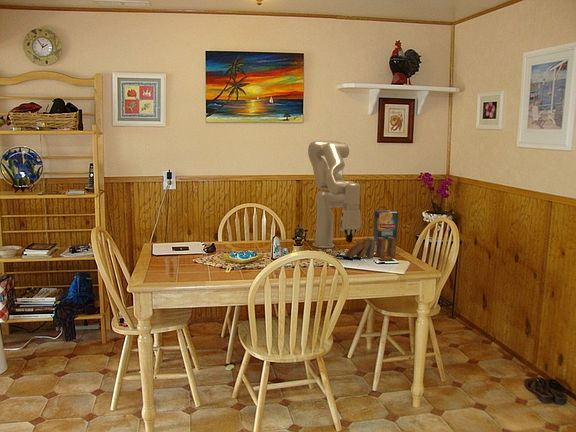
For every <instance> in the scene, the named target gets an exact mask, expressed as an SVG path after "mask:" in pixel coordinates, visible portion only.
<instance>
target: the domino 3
mask: <svg viewBox="0 0 576 432" xmlns="http://www.w3.org/2000/svg"><path fill="white" fill-rule="evenodd" d="M366 239H367V240H369V241H371V244H370V246H369V247H368V249H367V251H366V253H365V255H364V256H365V257H366V256H367V257H366V258H368V257H369V258H368V259H374V254H375V250H374V248H375V239H373V237H367V238H366Z"/></svg>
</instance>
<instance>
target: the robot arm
mask: <svg viewBox="0 0 576 432" xmlns="http://www.w3.org/2000/svg"><path fill="white" fill-rule="evenodd" d="M307 155H308V159H309V161H310V163H311V167H312V169H313V170H312V171H313V176H314V182H315V186H316V188H317V189H319V190H320V191H318V192H317V193H316V194H315V202H316V203H315V204H316V221H315V223H316V225H315V237H314V239H315V241H313V242H312V246H313V247H315V248H319V249H333V248H335V243H333V237H334V236H333V235H334V220H335V218H334V217H335V216H334V212H333V211H332V209H331V208H343V209H342V210H341V215H340V221H339V227H340V229H339V231H340V232H344V233H345V240H346V242H347V243H348V244H350V243H353V237H354V235H355V233H356V232H358V231H360V230H361V228H362V227H361V226H362V213H361V210H360V209H359V207H360V195H361V184H360V183H357V182H354V181H352V180H344V177H343V176H342V174H341V173H340V172H341V171H342V170H343V169H344V168H345V161H344V159H346V158H348V157H349V155H350V147H349V146H348V144H346V143H345V142H341V141H336V140H335V141H333V140H314V141H311V142H310V143H309V145H308V148H307ZM323 157H325V159H324V158H323Z"/></svg>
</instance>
